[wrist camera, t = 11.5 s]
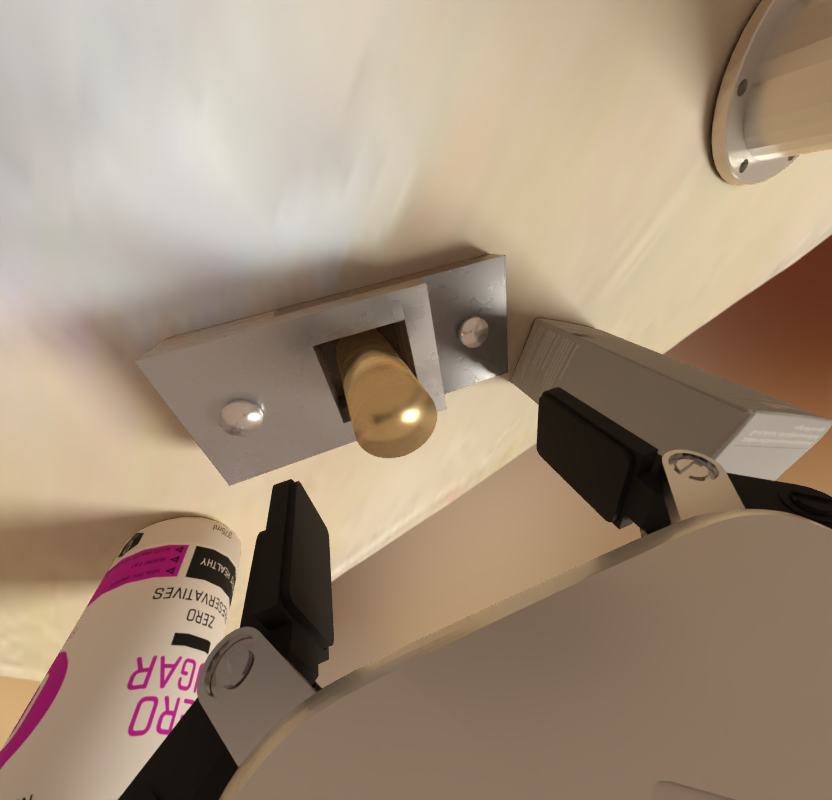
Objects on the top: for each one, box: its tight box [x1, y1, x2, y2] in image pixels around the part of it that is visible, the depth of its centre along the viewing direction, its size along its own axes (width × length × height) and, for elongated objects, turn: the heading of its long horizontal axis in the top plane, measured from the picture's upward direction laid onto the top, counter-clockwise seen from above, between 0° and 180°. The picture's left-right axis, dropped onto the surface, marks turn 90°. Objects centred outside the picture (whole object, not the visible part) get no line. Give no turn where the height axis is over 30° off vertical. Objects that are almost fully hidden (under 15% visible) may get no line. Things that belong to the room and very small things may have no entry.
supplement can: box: [0, 517, 241, 800], centre depth 19 cm, size 8×8×15 cm
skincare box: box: [511, 318, 832, 481], centre depth 22 cm, size 8×7×16 cm
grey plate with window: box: [134, 254, 508, 486], centre depth 20 cm, size 22×9×5 cm, turn 101°
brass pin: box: [336, 329, 437, 458], centre depth 18 cm, size 4×4×10 cm
